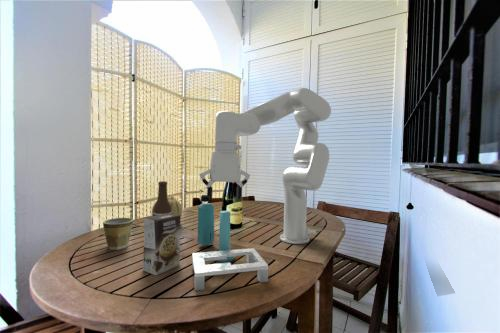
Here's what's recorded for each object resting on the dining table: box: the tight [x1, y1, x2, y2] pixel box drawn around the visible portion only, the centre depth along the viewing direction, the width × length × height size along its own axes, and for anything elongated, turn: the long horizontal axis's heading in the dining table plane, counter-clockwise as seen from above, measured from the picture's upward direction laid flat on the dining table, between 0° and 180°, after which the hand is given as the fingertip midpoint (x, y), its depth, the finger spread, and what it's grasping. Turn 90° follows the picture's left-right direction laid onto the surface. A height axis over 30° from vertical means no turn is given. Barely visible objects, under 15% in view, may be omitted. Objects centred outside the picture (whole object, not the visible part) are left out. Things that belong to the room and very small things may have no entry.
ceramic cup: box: [102, 217, 134, 251], centre depth 94 cm, size 13×10×10 cm
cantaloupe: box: [150, 195, 183, 218], centre depth 124 cm, size 15×15×15 cm
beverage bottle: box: [197, 194, 216, 246], centre depth 95 cm, size 6×7×20 cm
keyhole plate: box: [191, 247, 269, 291], centre depth 73 cm, size 20×14×4 cm
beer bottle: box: [152, 180, 172, 216], centre depth 105 cm, size 8×8×24 cm
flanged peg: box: [215, 210, 235, 263], centre depth 84 cm, size 7×7×16 cm
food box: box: [142, 213, 182, 276], centre depth 76 cm, size 9×6×16 cm
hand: (224, 198), depth 84 cm, fingers open, 9 cm apart
